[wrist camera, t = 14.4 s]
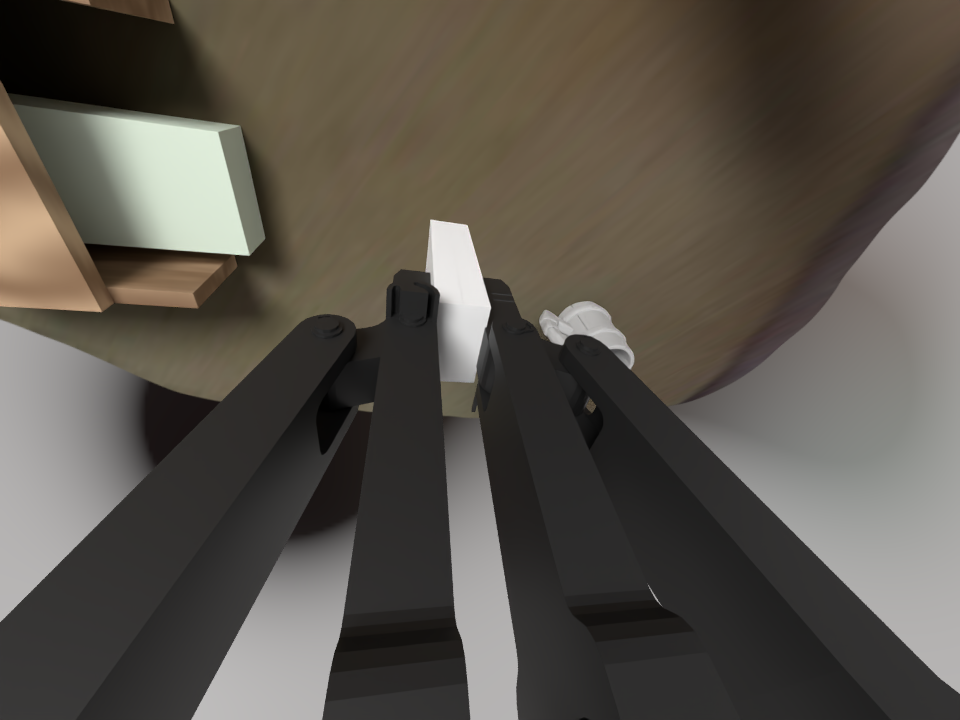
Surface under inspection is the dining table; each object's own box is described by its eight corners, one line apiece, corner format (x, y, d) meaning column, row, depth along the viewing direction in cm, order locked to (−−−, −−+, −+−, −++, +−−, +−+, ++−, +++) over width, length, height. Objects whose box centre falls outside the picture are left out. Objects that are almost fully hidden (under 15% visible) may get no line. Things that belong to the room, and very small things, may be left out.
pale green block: (-46, 84, 28) (-132, 86, 23) (242, 125, 32) (214, 132, 27) (33, 217, 33) (-23, 238, 29) (266, 237, 38) (247, 258, 33)
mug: (584, 351, 53) (620, 408, 44) (517, 326, 49) (542, 385, 40) (616, 309, 49) (663, 363, 40) (547, 279, 45) (582, 331, 36)
